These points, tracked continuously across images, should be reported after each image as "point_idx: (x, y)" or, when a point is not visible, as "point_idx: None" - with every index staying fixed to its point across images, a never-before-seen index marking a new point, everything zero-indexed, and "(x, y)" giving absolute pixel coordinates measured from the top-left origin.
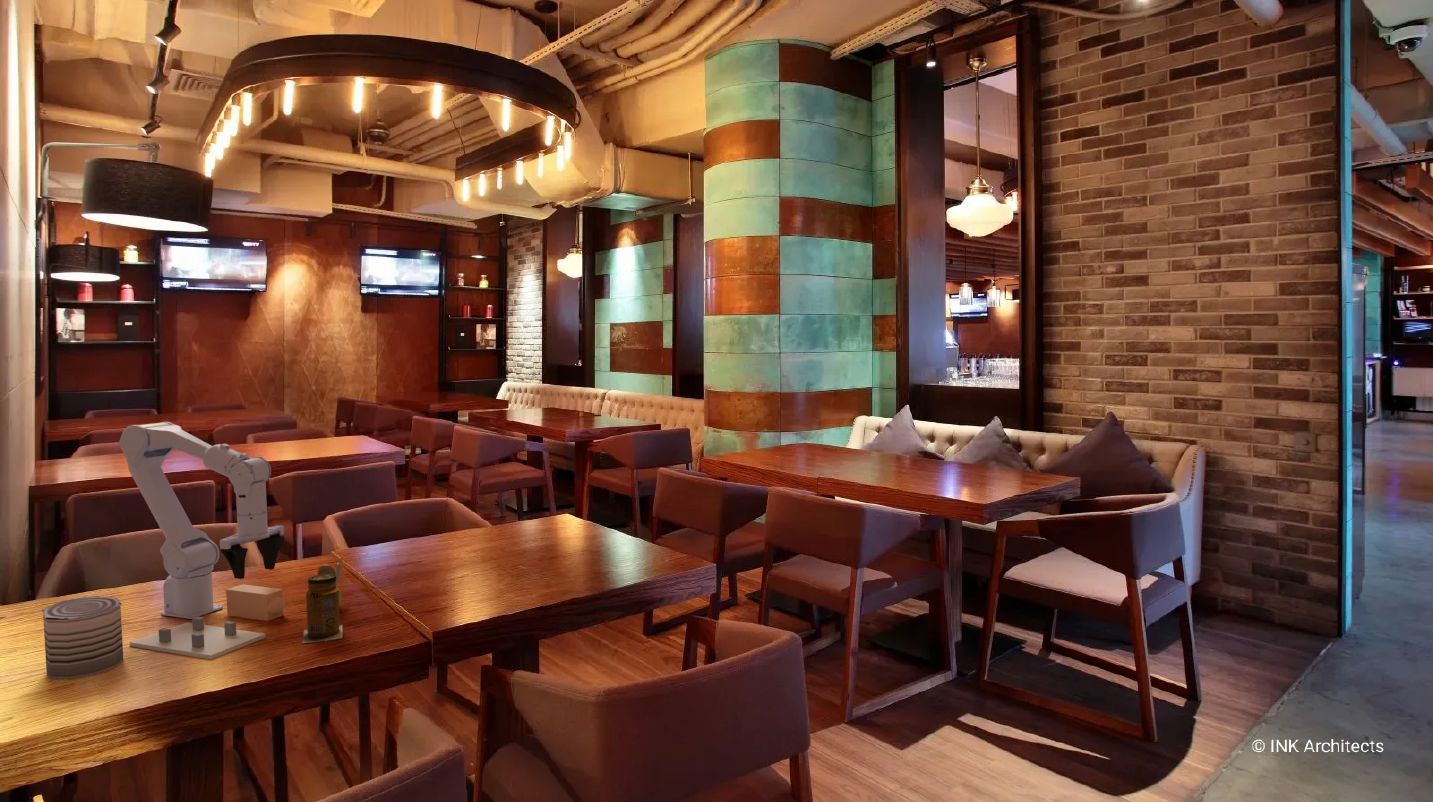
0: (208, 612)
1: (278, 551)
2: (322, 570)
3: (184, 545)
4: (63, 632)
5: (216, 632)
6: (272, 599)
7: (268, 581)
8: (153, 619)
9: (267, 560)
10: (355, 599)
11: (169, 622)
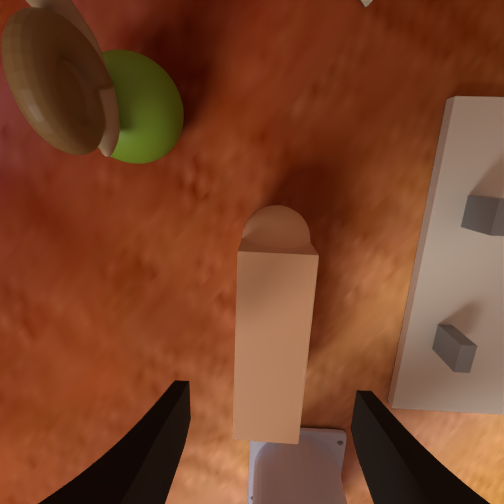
0: None
1: (109, 452)
2: (65, 104)
3: None
4: None
5: (459, 269)
6: (296, 238)
7: (46, 482)
8: (359, 499)
9: (175, 446)
10: None
11: None
